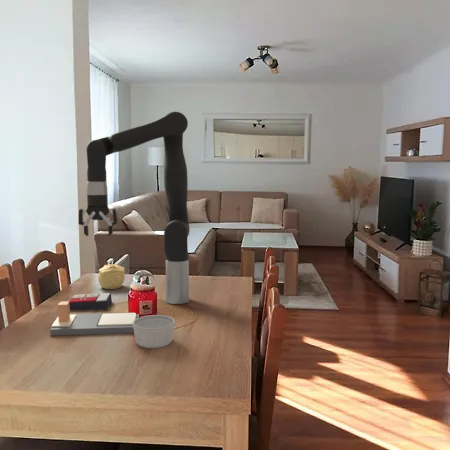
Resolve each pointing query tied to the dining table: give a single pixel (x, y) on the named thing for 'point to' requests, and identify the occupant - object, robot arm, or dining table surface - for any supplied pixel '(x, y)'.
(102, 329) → the grey rectangular board
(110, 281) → the yellow sugar bowl
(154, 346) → the ramekin
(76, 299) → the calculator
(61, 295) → the dining table surface
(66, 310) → the upright wooden block
